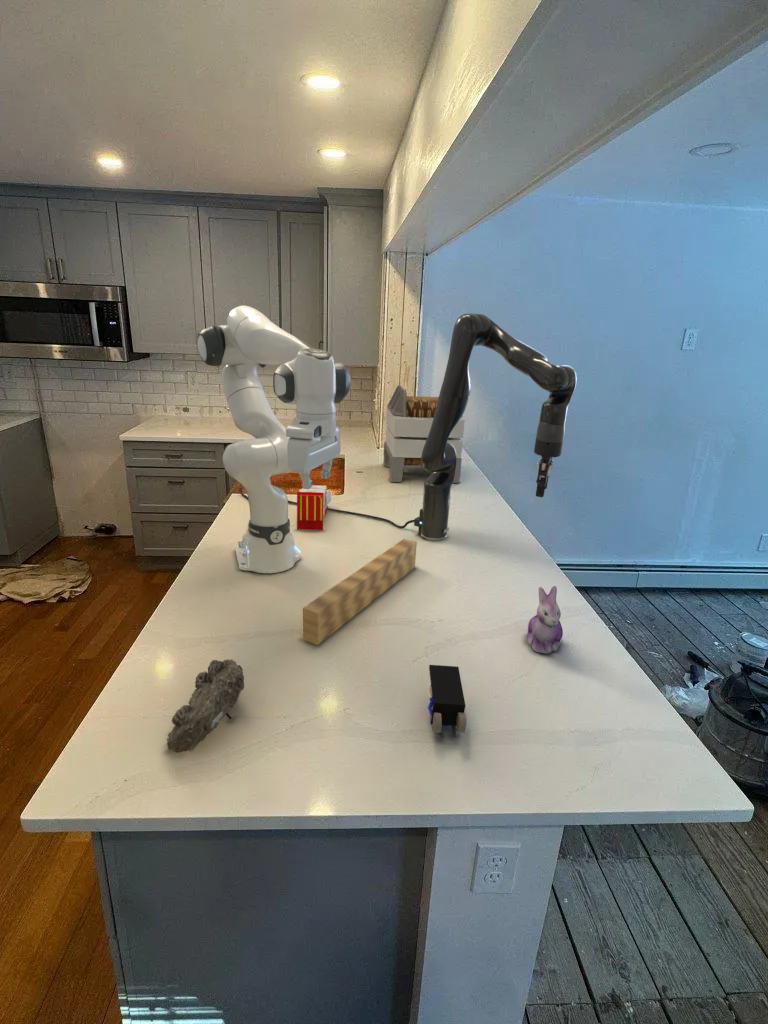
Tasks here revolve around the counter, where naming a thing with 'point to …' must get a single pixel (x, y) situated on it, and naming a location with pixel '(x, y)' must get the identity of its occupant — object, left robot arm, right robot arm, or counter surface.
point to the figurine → (545, 624)
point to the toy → (312, 507)
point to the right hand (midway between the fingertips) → (541, 492)
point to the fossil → (206, 705)
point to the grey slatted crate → (413, 432)
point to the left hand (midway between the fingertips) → (316, 483)
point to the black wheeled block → (446, 699)
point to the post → (357, 592)
